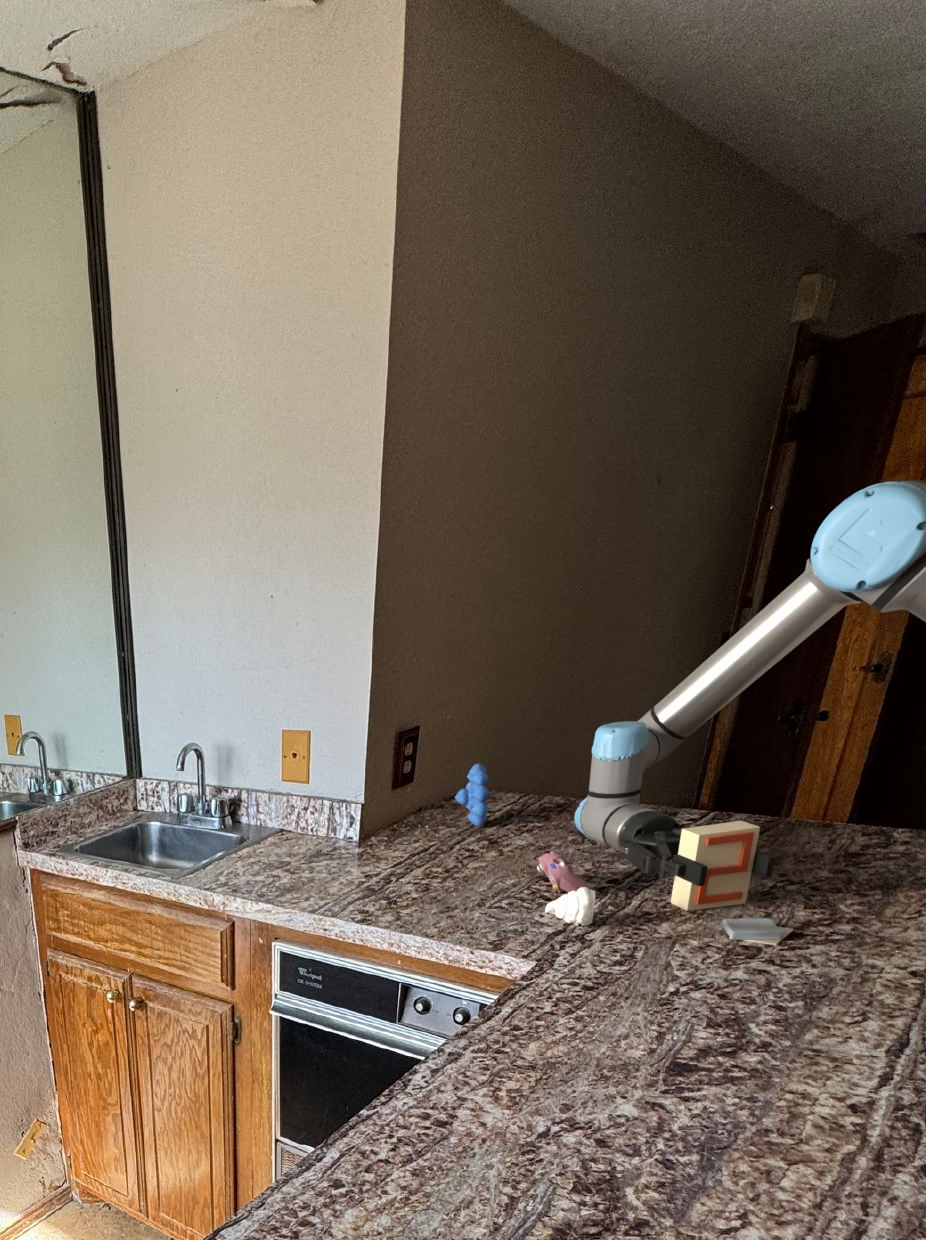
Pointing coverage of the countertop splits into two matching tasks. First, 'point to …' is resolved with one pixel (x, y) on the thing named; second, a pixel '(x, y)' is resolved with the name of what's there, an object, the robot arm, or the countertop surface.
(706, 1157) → the countertop surface
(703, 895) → the cream digit block
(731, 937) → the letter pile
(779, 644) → the robot arm
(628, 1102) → the countertop surface
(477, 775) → the grapes
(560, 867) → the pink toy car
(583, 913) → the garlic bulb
